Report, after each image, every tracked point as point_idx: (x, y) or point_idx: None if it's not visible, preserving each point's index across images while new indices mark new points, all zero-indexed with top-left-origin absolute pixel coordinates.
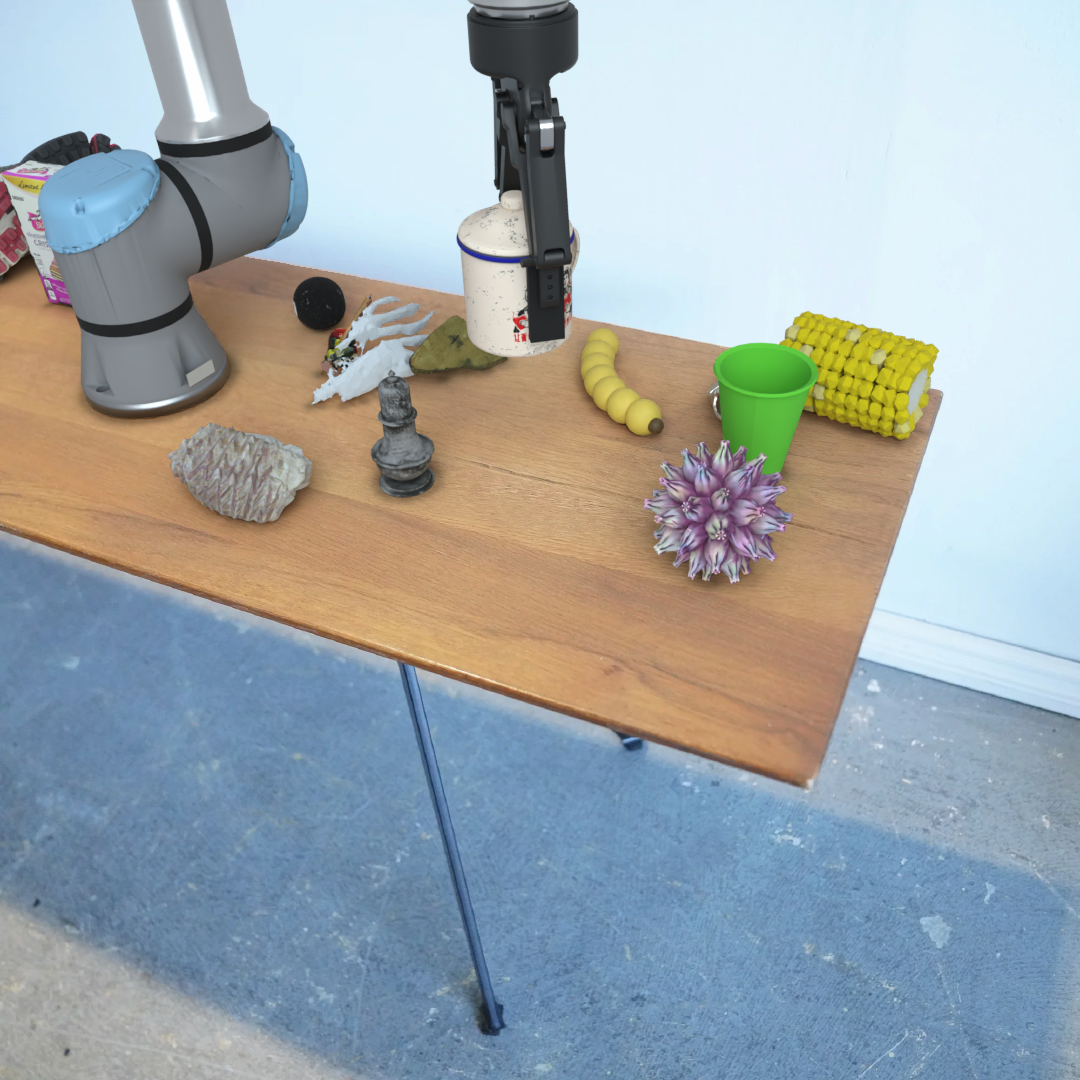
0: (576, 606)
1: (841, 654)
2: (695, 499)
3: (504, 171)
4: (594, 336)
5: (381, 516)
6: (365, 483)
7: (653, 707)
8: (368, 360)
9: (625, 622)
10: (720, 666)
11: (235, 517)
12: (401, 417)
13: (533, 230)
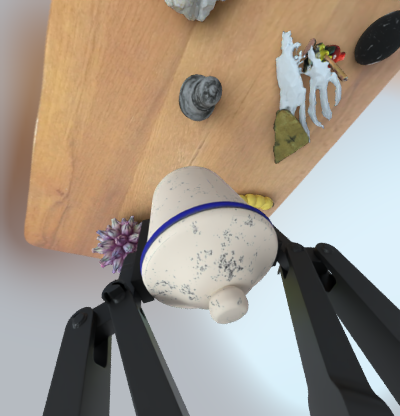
0: (99, 181)
1: (89, 255)
2: (107, 247)
3: (304, 302)
4: (267, 202)
5: (162, 82)
6: (194, 72)
7: (42, 205)
8: (293, 78)
9: (92, 198)
10: (73, 226)
11: None
12: (195, 98)
13: (73, 368)
